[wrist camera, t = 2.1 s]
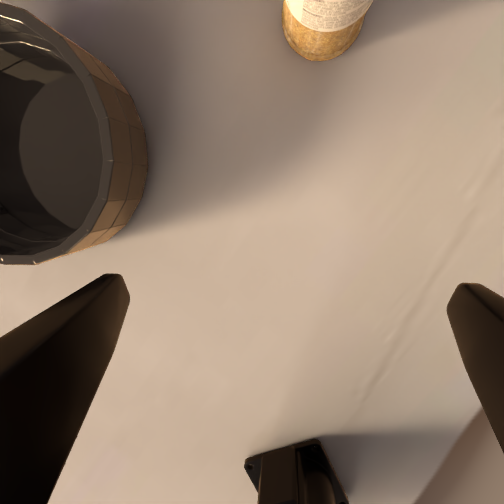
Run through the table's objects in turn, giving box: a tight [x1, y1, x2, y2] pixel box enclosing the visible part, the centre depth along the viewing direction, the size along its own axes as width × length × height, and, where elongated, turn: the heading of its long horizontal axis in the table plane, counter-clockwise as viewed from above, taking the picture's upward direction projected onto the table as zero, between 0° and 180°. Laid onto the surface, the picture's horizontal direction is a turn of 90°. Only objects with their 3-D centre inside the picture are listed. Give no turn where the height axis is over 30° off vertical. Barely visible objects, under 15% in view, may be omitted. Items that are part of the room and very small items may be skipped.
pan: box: [0, 2, 148, 265], centre depth 17 cm, size 13×13×4 cm
